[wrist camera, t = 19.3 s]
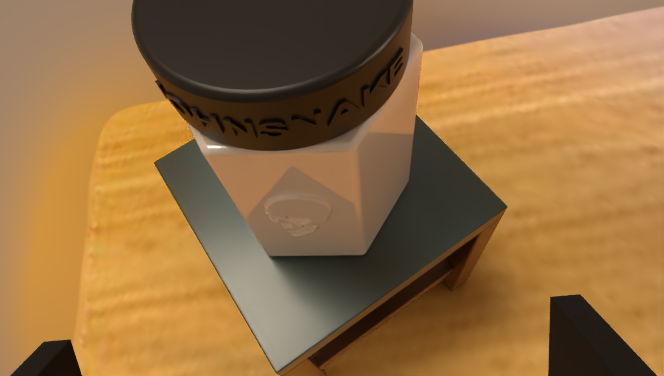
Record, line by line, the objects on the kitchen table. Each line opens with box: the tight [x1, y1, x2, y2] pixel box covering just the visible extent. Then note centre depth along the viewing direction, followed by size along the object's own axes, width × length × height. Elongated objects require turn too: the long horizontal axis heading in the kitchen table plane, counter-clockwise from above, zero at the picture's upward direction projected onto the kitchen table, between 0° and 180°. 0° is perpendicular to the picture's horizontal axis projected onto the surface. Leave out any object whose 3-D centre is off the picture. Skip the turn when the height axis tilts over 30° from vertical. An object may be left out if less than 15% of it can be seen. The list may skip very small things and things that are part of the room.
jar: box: [131, 0, 423, 256], centre depth 19 cm, size 9×8×12 cm
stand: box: [154, 115, 507, 376], centre depth 29 cm, size 13×13×12 cm
